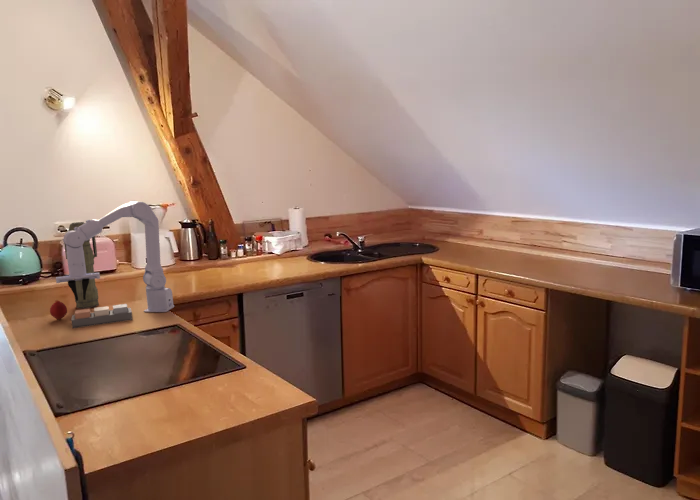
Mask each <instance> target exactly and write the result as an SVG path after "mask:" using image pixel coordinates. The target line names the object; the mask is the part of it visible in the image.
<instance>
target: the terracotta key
mask: <svg viewBox="0 0 700 500" xmlns="http://www.w3.org/2000/svg"><path fill="white" fill-rule="evenodd" d="M91 313H92V312H91V308H84V309H76V310H74V315H75V319H80V318H88V317H91Z"/></svg>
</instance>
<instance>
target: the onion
mask: <svg viewBox="0 0 700 500" xmlns="http://www.w3.org/2000/svg"><path fill="white" fill-rule="evenodd" d="M49 312H50V315H51V317H52V318H54V319H56V320H58V321H60V320H62V319H63V318H64V317H66V315H67V313H68V308H67V306H66V304H65V303H63V302H62V301H60V300H58V299H54V303H53V304H51V306H50V308H49Z"/></svg>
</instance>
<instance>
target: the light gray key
mask: <svg viewBox="0 0 700 500" xmlns="http://www.w3.org/2000/svg"><path fill="white" fill-rule="evenodd" d="M112 308H113V309H112V310H113V312H114V314H118V313H125V312H128V308H129V307H128V304H127V303H124V304H123V303H122V304H116V305H115V304H113V305H112Z"/></svg>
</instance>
